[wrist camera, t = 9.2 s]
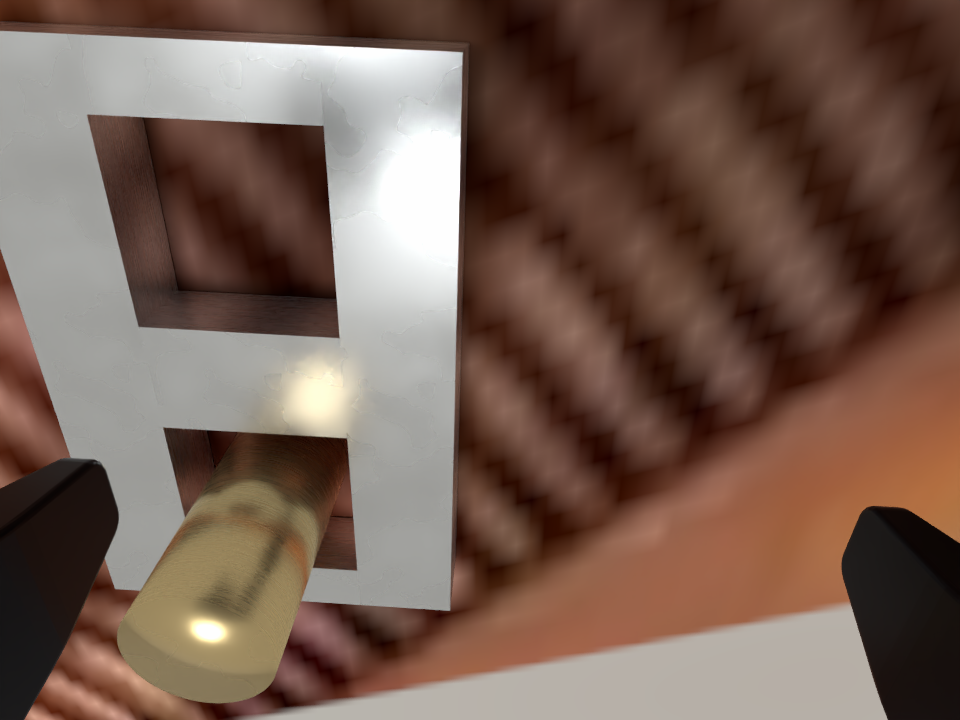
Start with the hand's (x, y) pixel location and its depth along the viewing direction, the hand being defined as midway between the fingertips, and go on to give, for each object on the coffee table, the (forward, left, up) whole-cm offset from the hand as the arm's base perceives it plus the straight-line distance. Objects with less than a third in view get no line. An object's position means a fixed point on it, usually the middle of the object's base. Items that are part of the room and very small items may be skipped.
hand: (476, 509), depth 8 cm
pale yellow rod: (+7, +10, -12) cm, 17 cm away
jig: (+7, +5, -12) cm, 15 cm away
